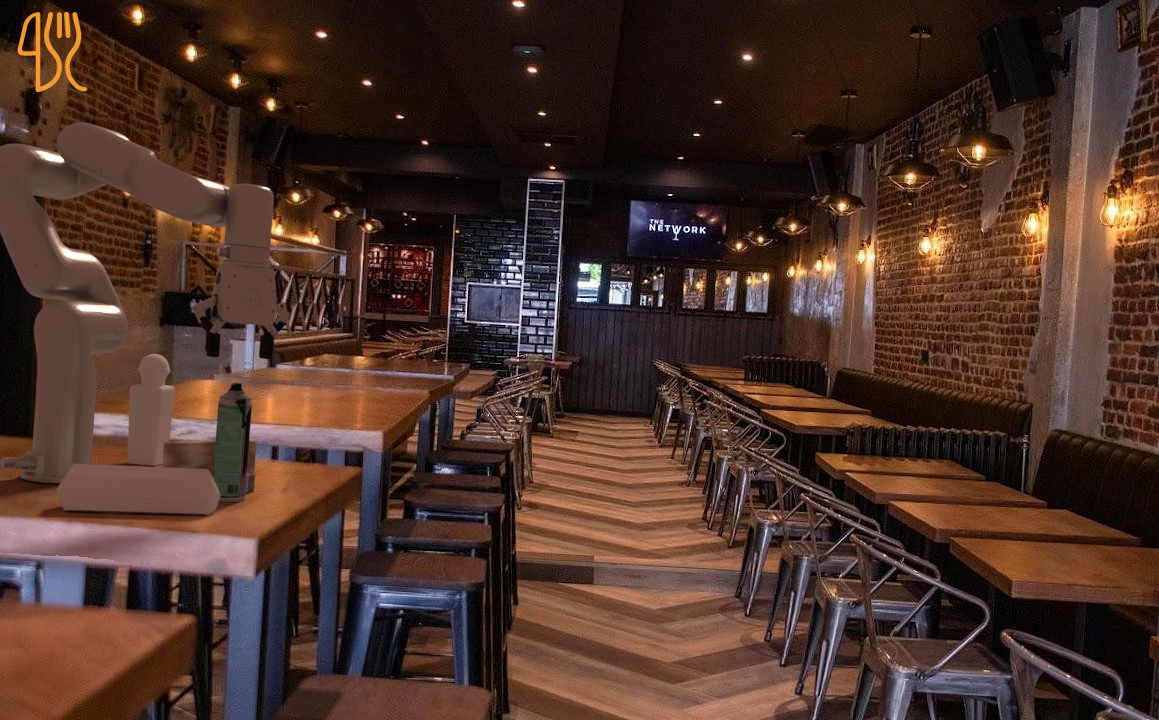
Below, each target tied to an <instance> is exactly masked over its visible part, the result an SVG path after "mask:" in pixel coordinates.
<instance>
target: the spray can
mask: <svg viewBox="0 0 1159 720" xmlns="http://www.w3.org/2000/svg"><path fill="white" fill-rule="evenodd" d="M252 400H253V398H252V397H250V396H249V395H248V394H246V393H245V390H244V388H243V384H242V383H241V382H233V383H231V385H230V388H229V389H227V392H225V393H224V394H222V395H220V396H219V400H218V401H217V402H218V403H217V404H218V405H217V414H216V415H217V417H216V418H217V419H216V432H215V441H216V443H215V456H214V470H213V478H214V480H215V483H216V485H217V487H218V489H219V493H220V499H219V502H222V503H238V502H244V501H245V499H246V493H247V492H246V478H247V465H248V451H249V440H250V437H251V424H252V423H251V421H252V412H253V411H252V410H253V409H252V408H253V402H252Z"/></svg>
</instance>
